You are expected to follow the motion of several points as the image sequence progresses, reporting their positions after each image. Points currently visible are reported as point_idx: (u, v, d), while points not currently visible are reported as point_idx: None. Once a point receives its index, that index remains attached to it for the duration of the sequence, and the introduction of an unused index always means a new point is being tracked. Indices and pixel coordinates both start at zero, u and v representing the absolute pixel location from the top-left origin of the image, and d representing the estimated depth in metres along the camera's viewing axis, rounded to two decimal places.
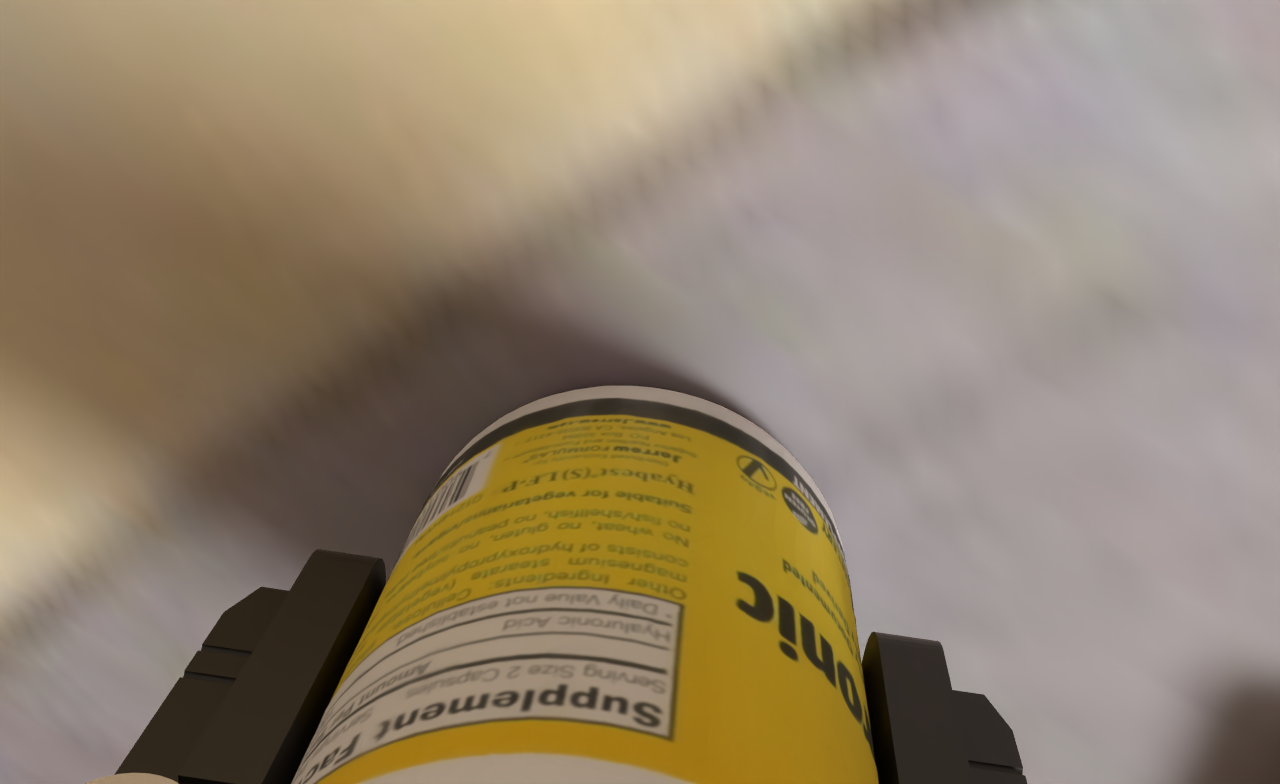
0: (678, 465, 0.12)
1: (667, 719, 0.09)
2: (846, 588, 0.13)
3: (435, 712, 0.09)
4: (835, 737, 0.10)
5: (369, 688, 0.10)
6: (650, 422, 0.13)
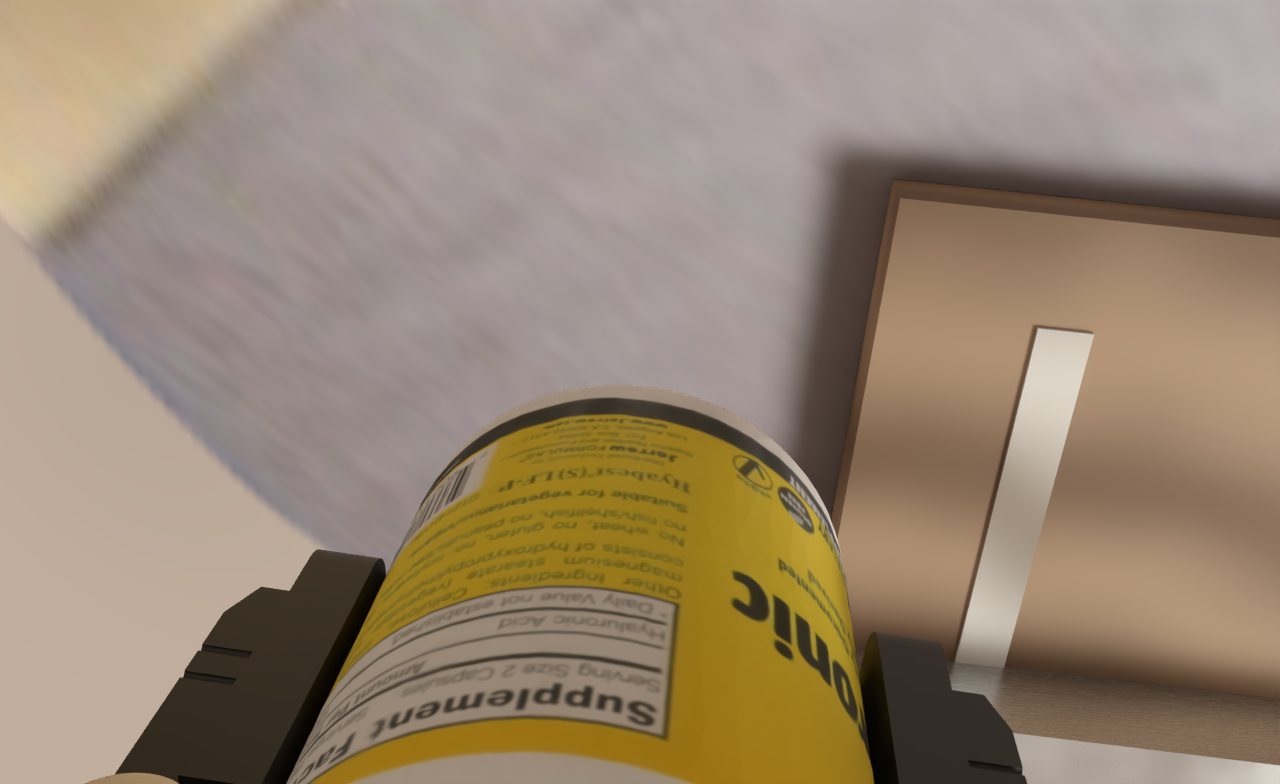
0: (673, 464, 0.12)
1: (662, 719, 0.09)
2: (842, 587, 0.13)
3: (430, 710, 0.09)
4: (830, 736, 0.10)
5: (364, 687, 0.10)
6: (646, 422, 0.13)
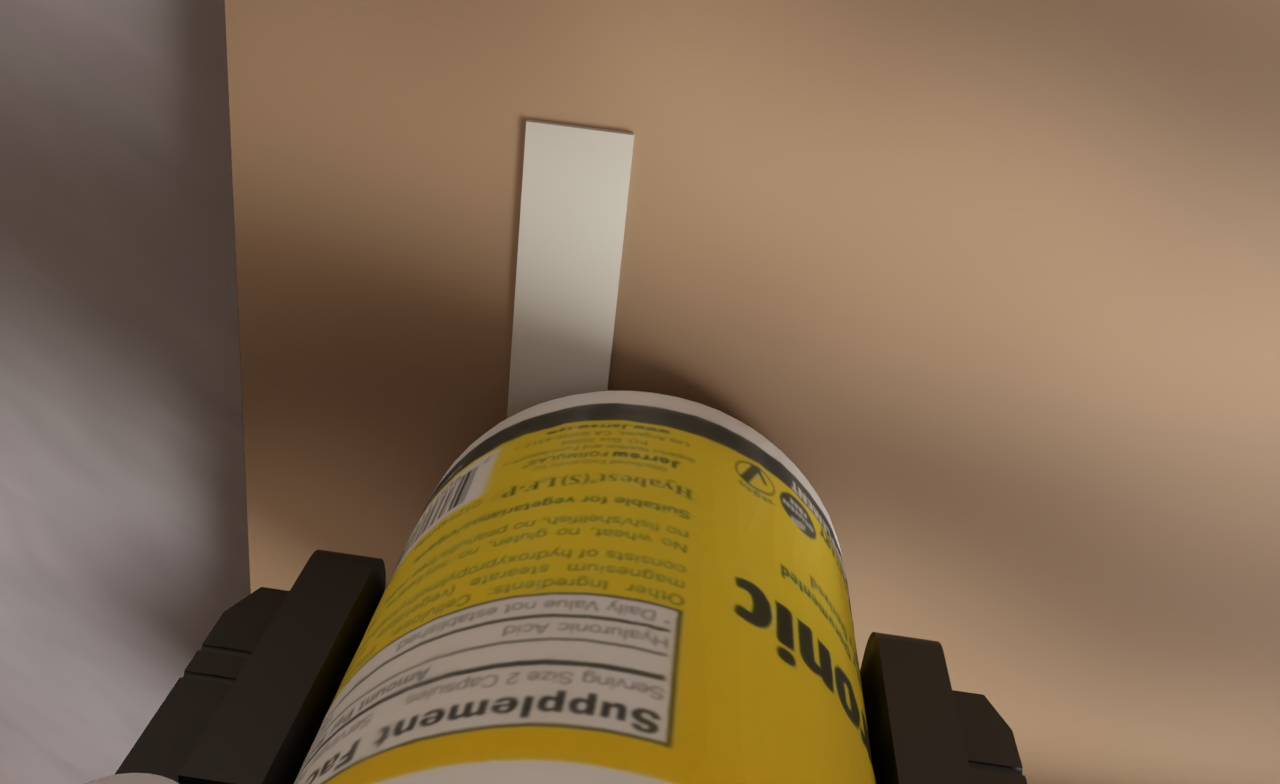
0: (676, 471, 0.12)
1: (666, 726, 0.09)
2: (844, 593, 0.13)
3: (433, 717, 0.09)
4: (833, 741, 0.10)
5: (369, 694, 0.10)
6: (649, 427, 0.13)
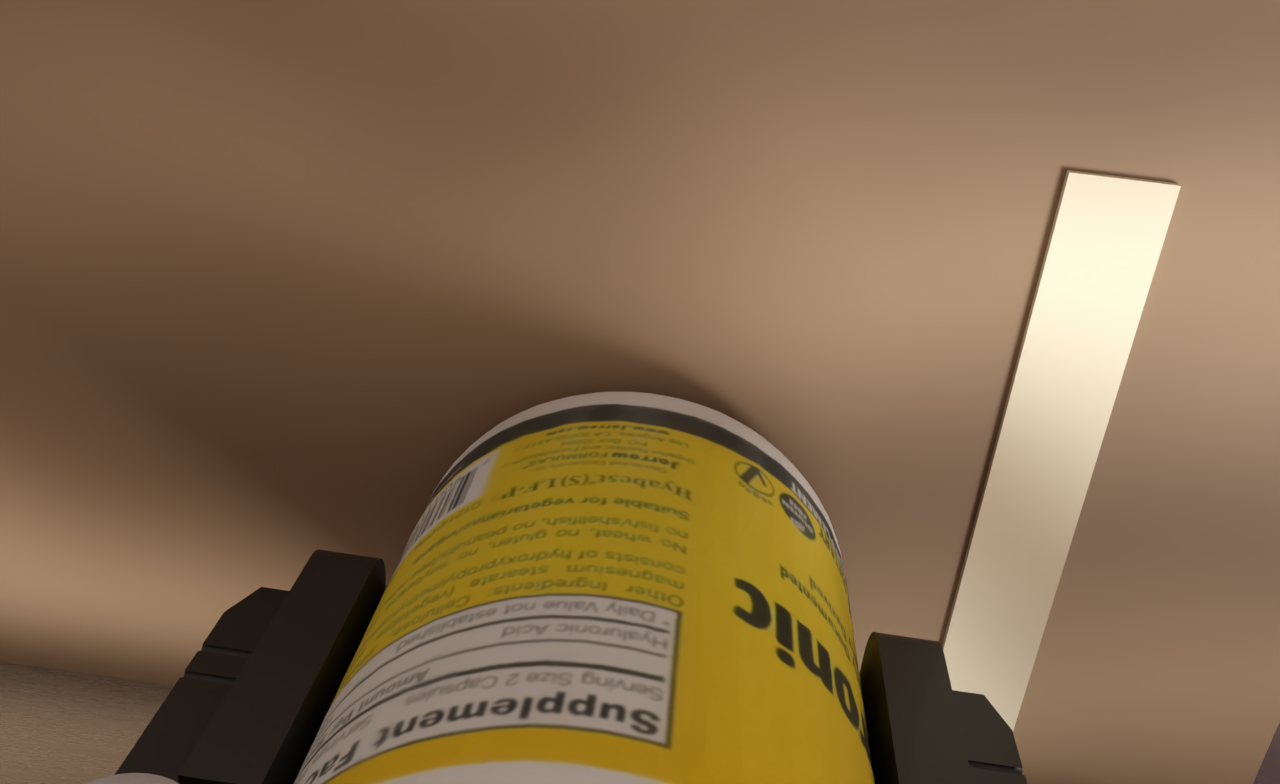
0: (676, 472, 0.12)
1: (664, 727, 0.09)
2: (843, 593, 0.13)
3: (433, 720, 0.09)
4: (833, 743, 0.10)
5: (368, 695, 0.10)
6: (648, 428, 0.13)
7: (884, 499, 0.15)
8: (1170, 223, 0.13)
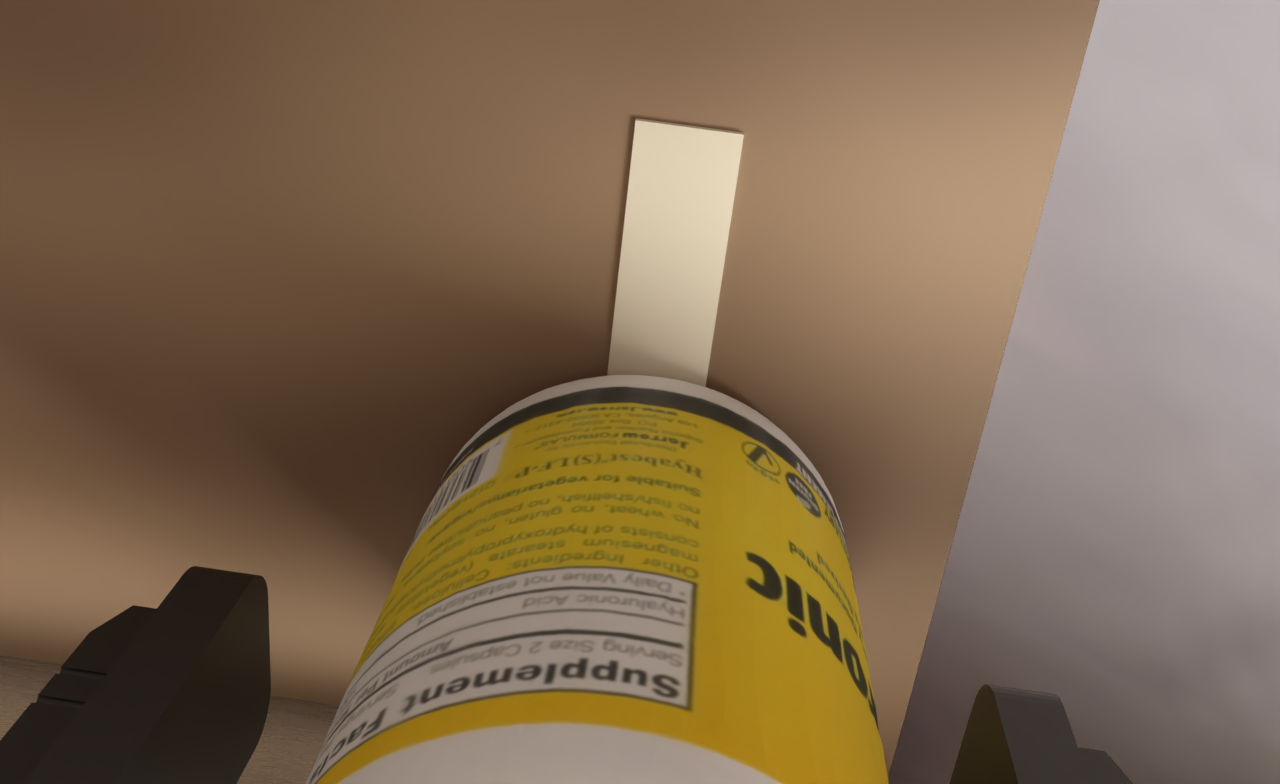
0: (686, 450, 0.12)
1: (685, 690, 0.09)
2: (848, 570, 0.13)
3: (458, 686, 0.09)
4: (844, 709, 0.10)
5: (392, 666, 0.10)
6: (657, 410, 0.13)
7: None
8: (741, 172, 0.13)
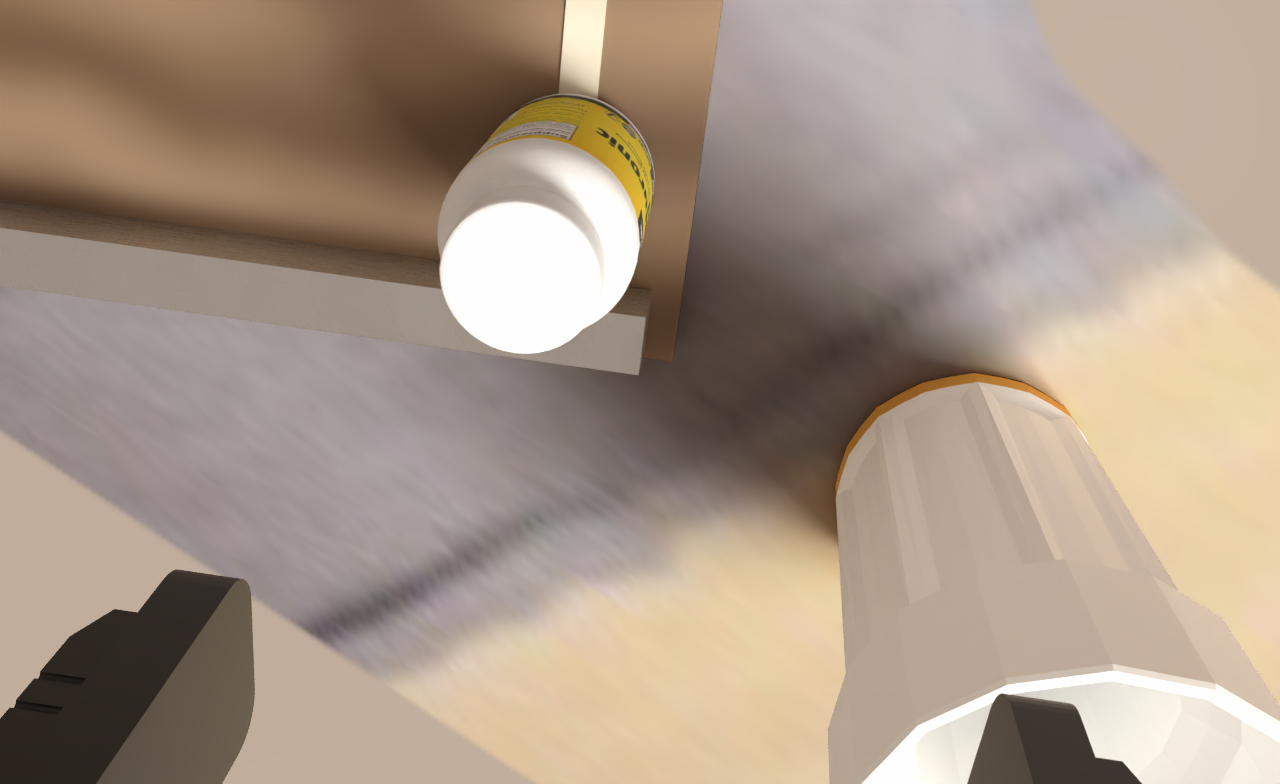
0: (582, 107, 0.34)
1: (569, 138, 0.31)
2: (646, 160, 0.35)
3: (503, 139, 0.31)
4: (624, 165, 0.32)
5: (482, 148, 0.32)
6: (574, 99, 0.35)
7: None
8: (607, 11, 0.35)
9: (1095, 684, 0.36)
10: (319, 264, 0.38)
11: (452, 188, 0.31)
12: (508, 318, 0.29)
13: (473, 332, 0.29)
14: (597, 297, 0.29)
